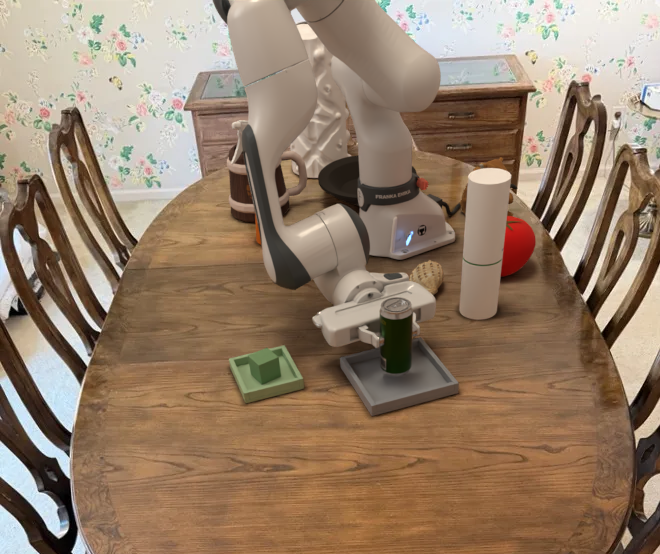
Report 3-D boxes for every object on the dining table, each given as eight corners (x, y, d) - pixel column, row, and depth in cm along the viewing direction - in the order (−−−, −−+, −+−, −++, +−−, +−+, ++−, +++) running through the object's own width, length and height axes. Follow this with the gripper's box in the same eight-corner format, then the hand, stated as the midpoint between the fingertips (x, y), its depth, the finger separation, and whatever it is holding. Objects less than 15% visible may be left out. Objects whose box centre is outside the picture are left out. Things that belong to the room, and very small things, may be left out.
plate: (428, 214, 171) (429, 190, 167) (329, 228, 169) (328, 204, 165) (401, 171, 190) (401, 149, 186) (312, 183, 189) (310, 161, 185)
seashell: (448, 309, 146) (438, 268, 149) (452, 290, 140) (442, 248, 143) (410, 314, 145) (401, 273, 148) (413, 295, 139) (404, 253, 143)
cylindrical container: (499, 302, 140) (514, 169, 123) (493, 321, 136) (507, 185, 118) (463, 298, 142) (472, 166, 125) (455, 317, 138) (464, 182, 120)
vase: (284, 180, 192) (269, 39, 169) (296, 157, 203) (283, 22, 180) (347, 179, 189) (340, 36, 166) (356, 156, 200) (350, 19, 177)
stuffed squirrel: (484, 233, 162) (489, 172, 152) (446, 213, 171) (449, 154, 161) (519, 221, 165) (526, 161, 155) (480, 202, 174) (484, 143, 164)
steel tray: (420, 346, 132) (420, 336, 130) (458, 393, 121) (459, 382, 119) (340, 367, 129) (339, 357, 127) (371, 416, 118) (371, 406, 117)
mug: (234, 228, 173) (223, 162, 162) (227, 204, 183) (217, 141, 172) (315, 215, 175) (309, 150, 164) (304, 192, 185) (298, 129, 174)
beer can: (392, 381, 121) (392, 317, 112) (374, 367, 124) (372, 303, 115) (418, 369, 122) (420, 306, 114) (399, 356, 126) (399, 292, 117)
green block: (270, 366, 129) (267, 347, 127) (281, 376, 127) (278, 356, 124) (250, 374, 128) (247, 355, 125) (261, 384, 126) (258, 365, 123)
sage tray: (285, 354, 133) (284, 344, 131) (304, 388, 125) (303, 378, 123) (230, 368, 131) (228, 358, 129) (245, 403, 123) (243, 393, 122)
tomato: (465, 285, 146) (468, 235, 139) (460, 256, 155) (463, 207, 148) (536, 282, 145) (544, 232, 137) (527, 253, 154) (534, 204, 146)
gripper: (306, 299, 122) (340, 337, 113) (413, 269, 127) (453, 304, 118) (309, 332, 127) (342, 371, 118) (412, 302, 132) (451, 337, 123)
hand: (398, 337), depth 118 cm, fingers closed on beer can, 5 cm apart
